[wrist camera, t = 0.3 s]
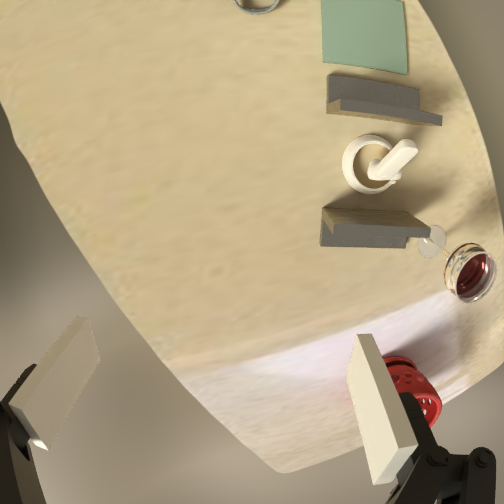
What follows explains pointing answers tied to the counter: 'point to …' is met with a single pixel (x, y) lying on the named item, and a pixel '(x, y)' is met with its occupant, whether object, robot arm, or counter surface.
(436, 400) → the plant pot
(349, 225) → the dark grey bookends
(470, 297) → the wineglass
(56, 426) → the robot arm
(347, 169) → the white curved piece
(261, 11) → the ceramic mug
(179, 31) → the counter surface
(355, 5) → the mat
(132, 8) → the counter surface
